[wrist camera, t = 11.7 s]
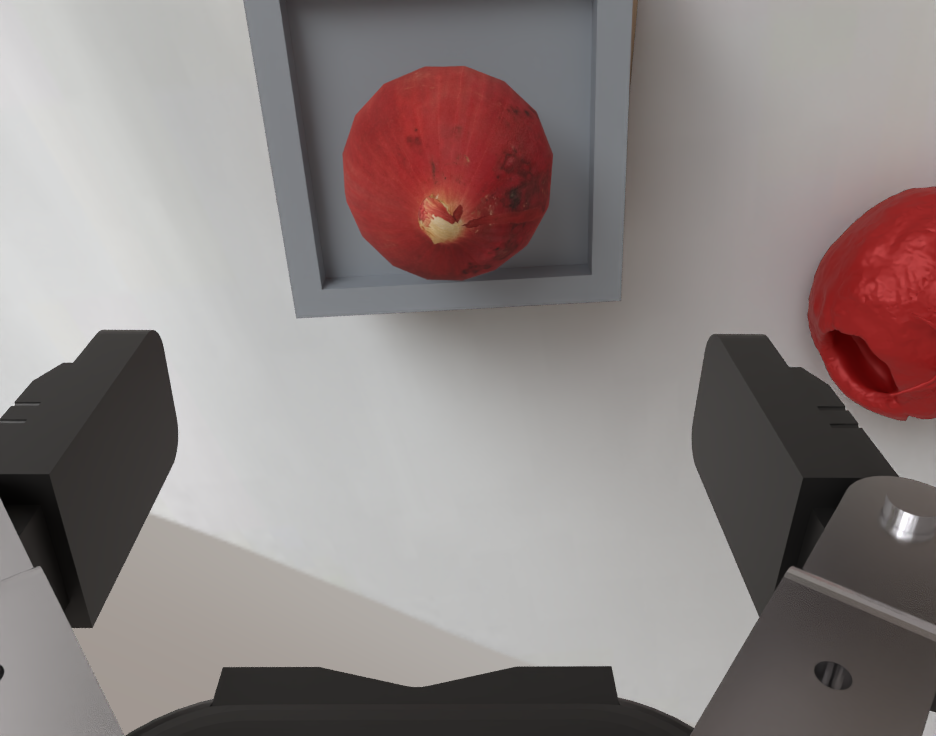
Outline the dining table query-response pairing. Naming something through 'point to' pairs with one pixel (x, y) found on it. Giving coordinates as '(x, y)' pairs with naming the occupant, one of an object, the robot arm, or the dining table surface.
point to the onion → (447, 172)
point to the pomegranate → (882, 307)
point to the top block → (441, 45)
